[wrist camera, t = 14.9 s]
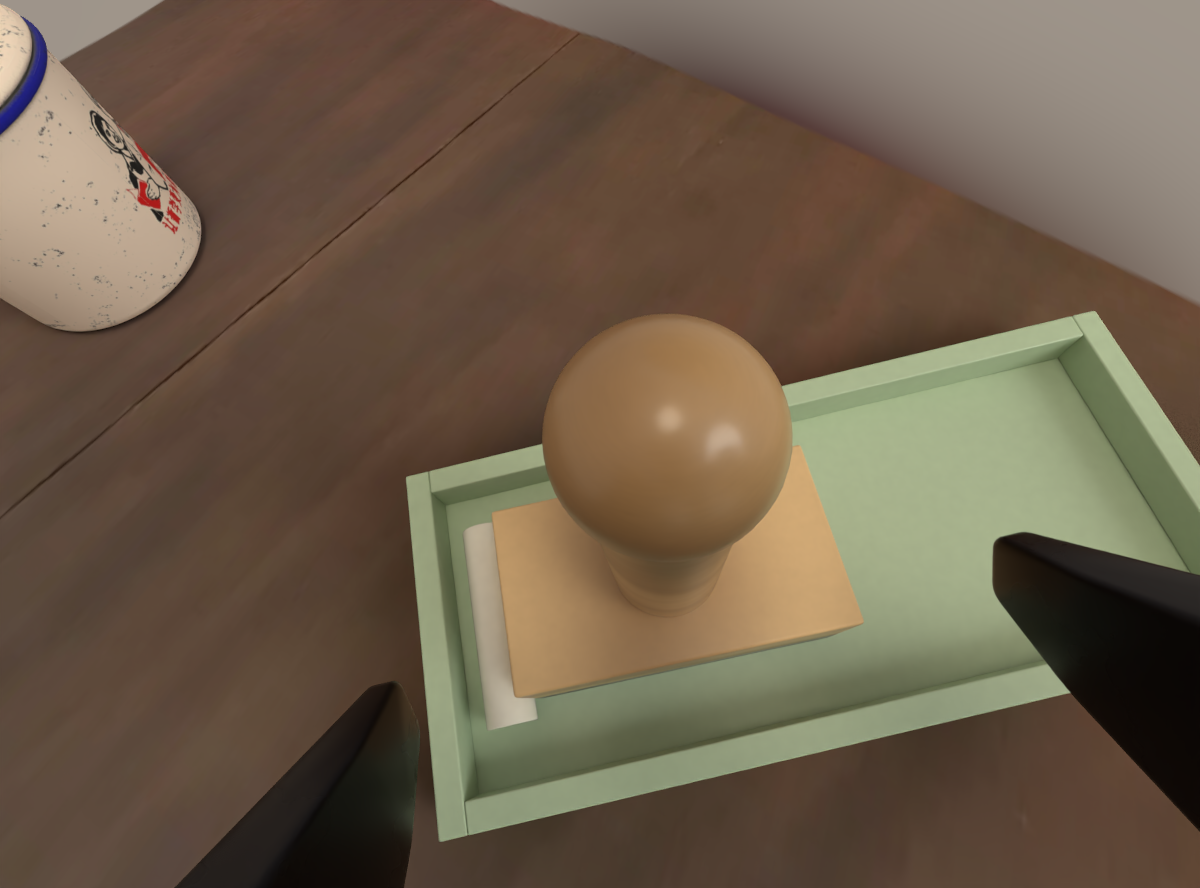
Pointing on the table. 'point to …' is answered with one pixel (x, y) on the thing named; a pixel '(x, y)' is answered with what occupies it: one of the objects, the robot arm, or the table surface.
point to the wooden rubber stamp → (665, 517)
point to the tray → (871, 559)
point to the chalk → (492, 633)
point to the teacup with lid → (79, 199)
